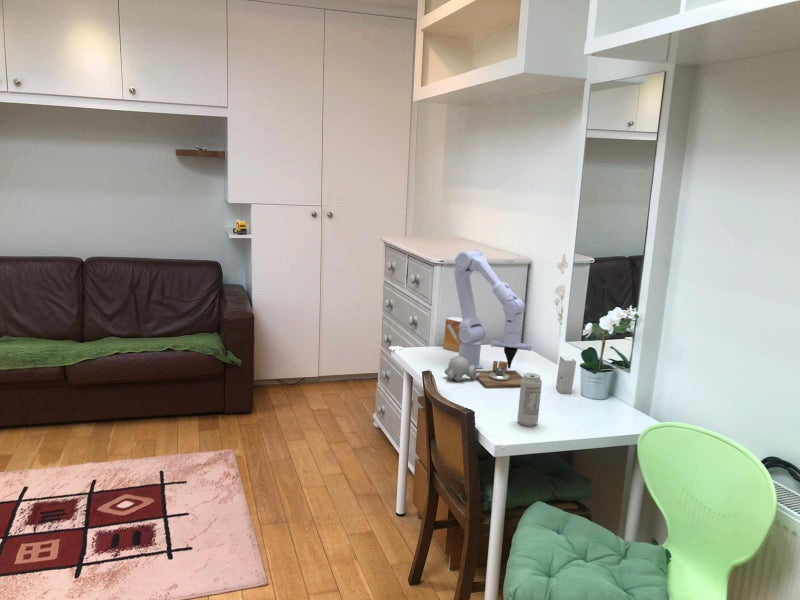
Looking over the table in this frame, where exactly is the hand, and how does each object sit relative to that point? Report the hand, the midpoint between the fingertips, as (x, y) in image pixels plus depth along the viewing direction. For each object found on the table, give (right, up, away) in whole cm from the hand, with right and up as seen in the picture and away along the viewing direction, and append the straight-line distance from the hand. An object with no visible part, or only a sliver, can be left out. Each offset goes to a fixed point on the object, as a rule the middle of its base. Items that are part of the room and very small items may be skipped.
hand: (509, 367), depth 247 cm
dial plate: (-4, -2, -4) cm, 6 cm away
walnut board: (-4, -4, -5) cm, 7 cm away
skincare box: (+17, -7, -12) cm, 22 cm away
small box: (-17, +4, +34) cm, 38 cm away
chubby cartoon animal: (-18, -4, -6) cm, 19 cm away
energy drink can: (-2, -13, -44) cm, 46 cm away
